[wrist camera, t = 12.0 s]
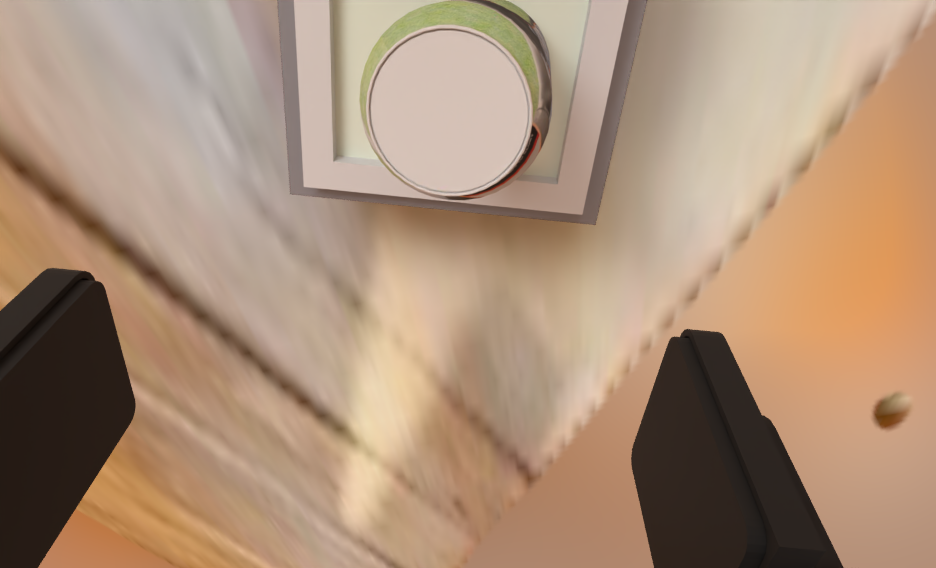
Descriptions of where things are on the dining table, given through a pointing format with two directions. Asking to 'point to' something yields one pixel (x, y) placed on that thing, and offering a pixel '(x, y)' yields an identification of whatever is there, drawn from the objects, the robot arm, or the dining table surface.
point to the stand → (366, 179)
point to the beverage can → (458, 97)
